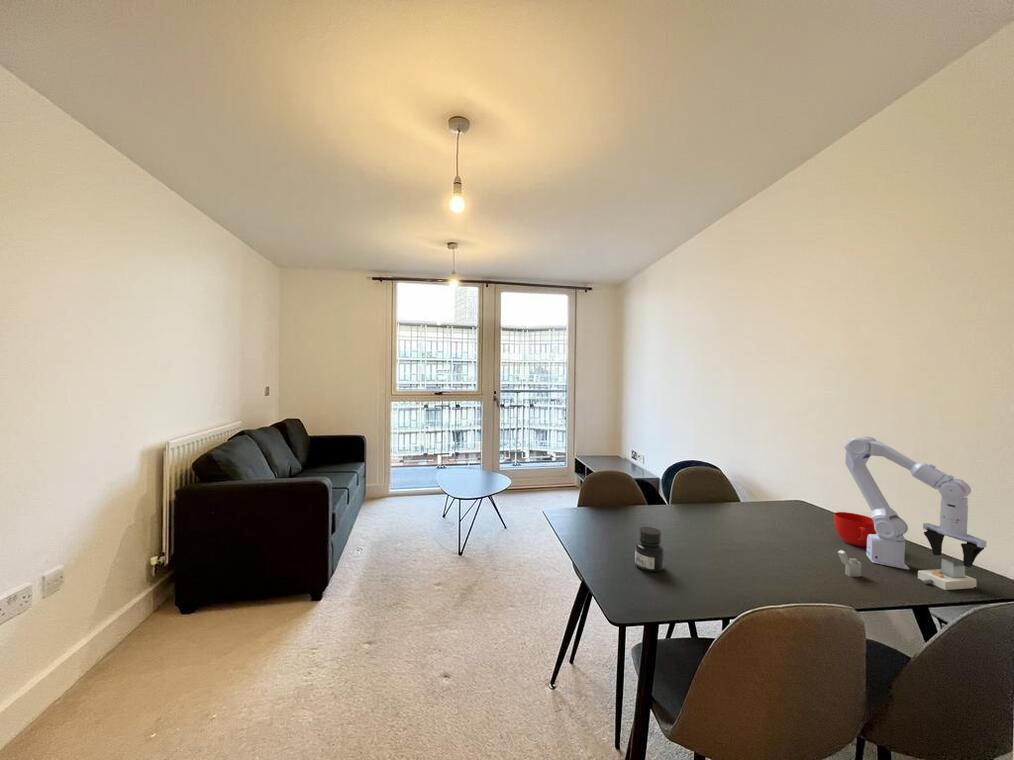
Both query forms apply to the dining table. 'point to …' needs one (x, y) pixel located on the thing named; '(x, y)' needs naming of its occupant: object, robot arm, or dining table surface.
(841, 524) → the ceramic cup
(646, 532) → the ink bottle
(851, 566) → the lighter
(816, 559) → the dining table surface
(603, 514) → the dining table surface
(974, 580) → the white rectangular frame
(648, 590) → the dining table surface
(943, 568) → the plug
